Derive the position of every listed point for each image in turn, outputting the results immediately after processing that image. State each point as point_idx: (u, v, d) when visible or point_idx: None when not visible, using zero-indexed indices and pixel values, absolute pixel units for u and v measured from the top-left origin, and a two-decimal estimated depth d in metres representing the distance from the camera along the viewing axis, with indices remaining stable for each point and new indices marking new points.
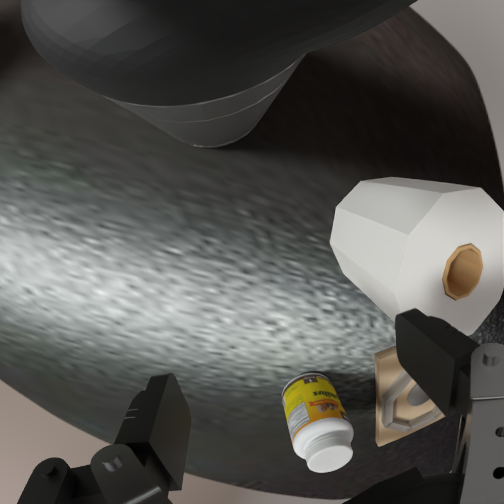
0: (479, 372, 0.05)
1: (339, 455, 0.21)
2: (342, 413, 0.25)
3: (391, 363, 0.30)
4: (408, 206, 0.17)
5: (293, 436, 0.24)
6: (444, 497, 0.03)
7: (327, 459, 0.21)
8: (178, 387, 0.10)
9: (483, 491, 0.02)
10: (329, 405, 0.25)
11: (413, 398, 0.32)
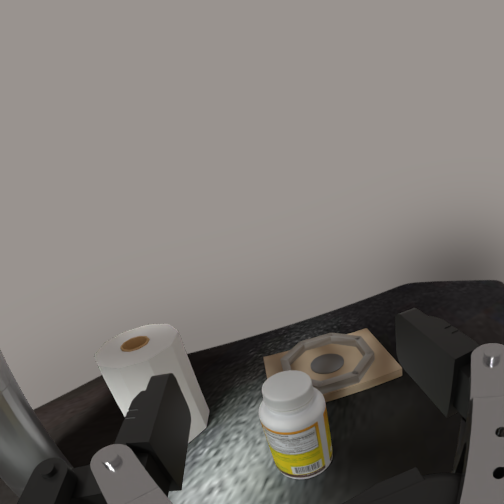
0: (479, 372, 0.05)
1: (280, 379, 0.24)
2: None
3: None
4: None
5: (283, 434, 0.21)
6: (444, 497, 0.03)
7: (283, 387, 0.23)
8: (178, 387, 0.10)
9: (483, 491, 0.02)
10: None
11: (332, 367, 0.37)
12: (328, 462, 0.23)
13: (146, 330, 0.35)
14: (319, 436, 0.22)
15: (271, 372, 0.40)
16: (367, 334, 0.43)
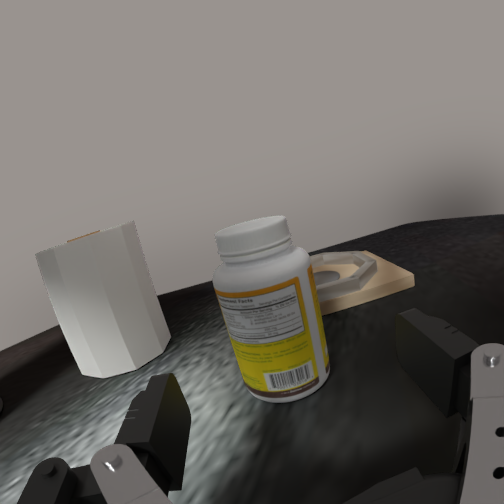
0: (479, 372, 0.05)
1: (243, 224, 0.18)
2: None
3: None
4: None
5: (244, 297, 0.15)
6: (444, 497, 0.03)
7: (244, 226, 0.17)
8: (178, 387, 0.10)
9: (483, 491, 0.02)
10: None
11: (325, 281, 0.31)
12: (323, 374, 0.17)
13: None
14: (304, 310, 0.16)
15: None
16: (366, 254, 0.37)
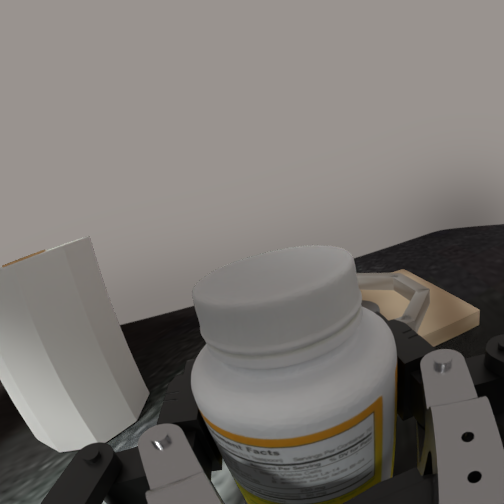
0: (432, 380, 0.06)
1: (255, 264, 0.08)
2: None
3: None
4: None
5: (261, 446, 0.06)
6: None
7: (260, 274, 0.07)
8: None
9: (461, 497, 0.03)
10: None
11: None
12: None
13: None
14: (381, 447, 0.06)
15: None
16: (406, 275, 0.27)
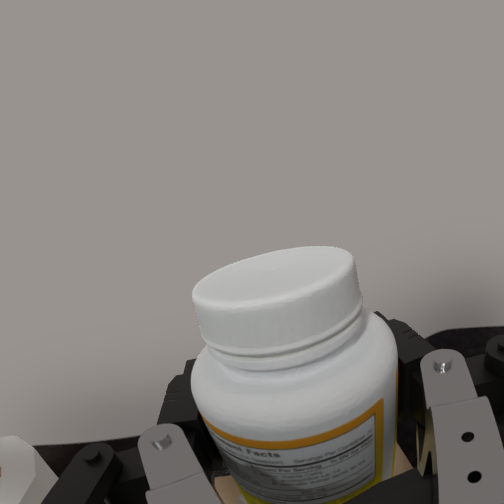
0: (432, 380, 0.06)
1: (255, 265, 0.08)
2: None
3: None
4: None
5: (261, 448, 0.06)
6: None
7: (260, 275, 0.07)
8: None
9: (461, 497, 0.03)
10: None
11: None
12: None
13: (6, 450, 0.13)
14: (382, 448, 0.06)
15: None
16: None
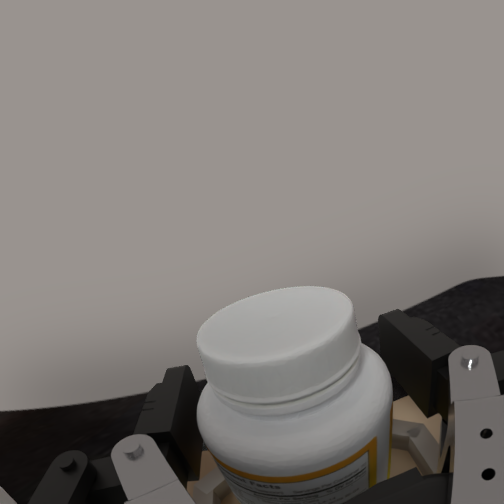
0: (458, 375, 0.06)
1: (257, 307, 0.08)
2: None
3: None
4: None
5: (263, 481, 0.06)
6: (433, 502, 0.03)
7: (262, 323, 0.07)
8: (193, 379, 0.10)
9: (473, 493, 0.02)
10: None
11: None
12: None
13: None
14: (375, 476, 0.06)
15: None
16: None
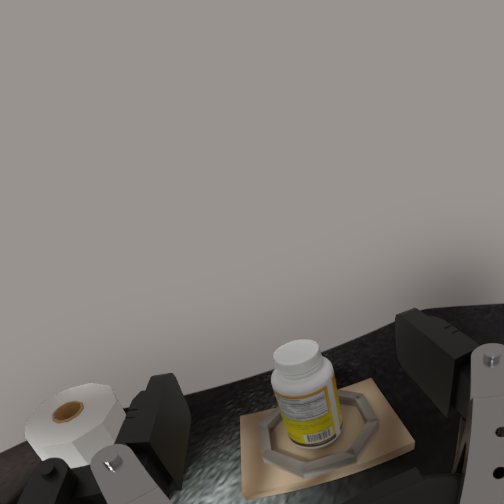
0: (479, 372, 0.05)
1: (290, 347, 0.26)
2: None
3: (254, 479, 0.23)
4: None
5: (294, 398, 0.24)
6: (444, 497, 0.03)
7: (293, 353, 0.25)
8: (178, 387, 0.10)
9: (483, 491, 0.02)
10: None
11: None
12: (339, 431, 0.25)
13: (85, 392, 0.25)
14: (329, 401, 0.24)
15: (247, 440, 0.29)
16: (371, 387, 0.32)
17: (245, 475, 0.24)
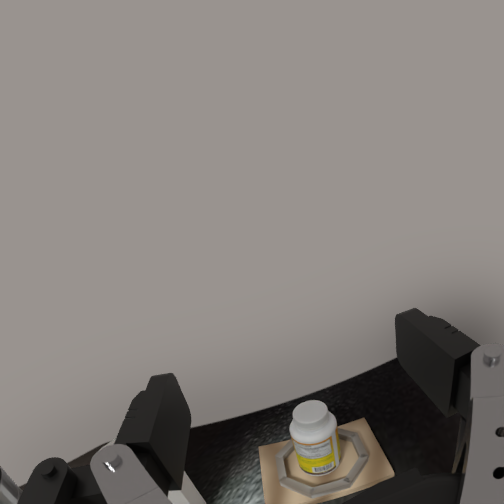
0: (479, 372, 0.05)
1: (305, 407, 0.32)
2: None
3: (274, 499, 0.29)
4: None
5: (307, 445, 0.30)
6: (444, 497, 0.03)
7: (307, 413, 0.31)
8: (178, 387, 0.10)
9: (483, 491, 0.02)
10: None
11: None
12: (338, 463, 0.32)
13: None
14: (332, 445, 0.30)
15: (266, 467, 0.35)
16: (364, 426, 0.38)
17: (267, 496, 0.30)
